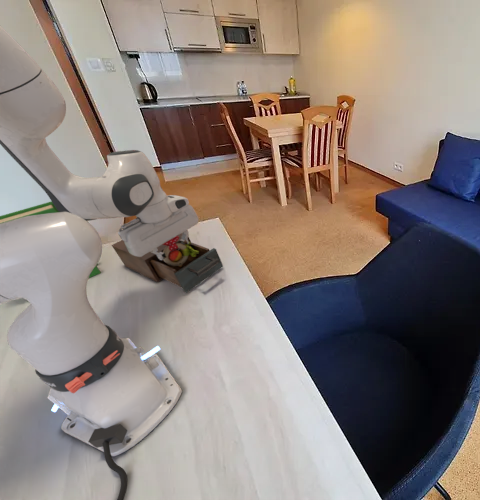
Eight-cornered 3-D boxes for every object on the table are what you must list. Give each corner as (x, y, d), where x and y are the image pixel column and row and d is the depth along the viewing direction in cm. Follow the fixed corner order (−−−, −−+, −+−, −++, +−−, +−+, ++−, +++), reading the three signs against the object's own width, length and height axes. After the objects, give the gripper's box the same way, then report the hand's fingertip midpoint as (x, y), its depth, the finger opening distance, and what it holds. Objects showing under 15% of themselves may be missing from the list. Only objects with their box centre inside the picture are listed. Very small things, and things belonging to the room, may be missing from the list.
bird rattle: (191, 273, 93) (205, 247, 95) (157, 263, 83) (174, 234, 85) (179, 266, 96) (193, 241, 97) (146, 256, 86) (161, 228, 88)
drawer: (233, 270, 93) (226, 252, 89) (196, 298, 84) (187, 279, 80) (187, 252, 104) (179, 235, 100) (150, 275, 95) (139, 258, 91)
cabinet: (198, 256, 103) (188, 235, 98) (157, 282, 93) (144, 260, 88) (165, 243, 112) (154, 223, 107) (125, 266, 102) (111, 245, 97)
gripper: (122, 231, 73) (148, 274, 81) (192, 196, 88) (208, 236, 96) (108, 226, 76) (135, 269, 84) (178, 193, 90) (195, 232, 98)
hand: (174, 251), depth 90 cm, fingers closed on bird rattle, 6 cm apart
